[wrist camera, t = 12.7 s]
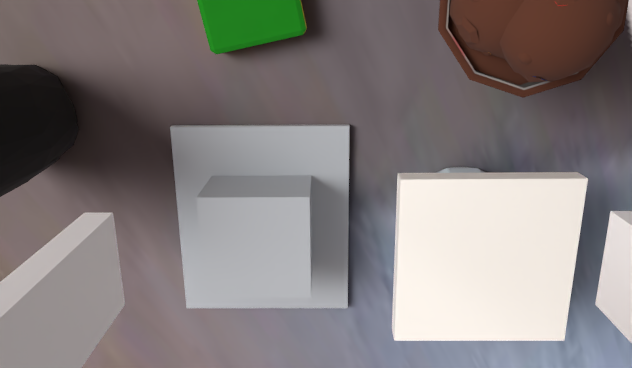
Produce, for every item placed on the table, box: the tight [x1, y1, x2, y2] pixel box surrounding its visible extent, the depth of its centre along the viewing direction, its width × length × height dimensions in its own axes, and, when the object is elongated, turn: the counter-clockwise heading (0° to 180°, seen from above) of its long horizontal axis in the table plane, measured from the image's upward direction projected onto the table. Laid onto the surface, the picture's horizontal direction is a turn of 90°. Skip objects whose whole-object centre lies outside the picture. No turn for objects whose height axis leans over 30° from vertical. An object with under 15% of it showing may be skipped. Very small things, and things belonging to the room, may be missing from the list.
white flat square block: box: [392, 172, 588, 341], centre depth 37 cm, size 12×12×2 cm
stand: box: [170, 124, 349, 308], centre depth 42 cm, size 16×14×6 cm
